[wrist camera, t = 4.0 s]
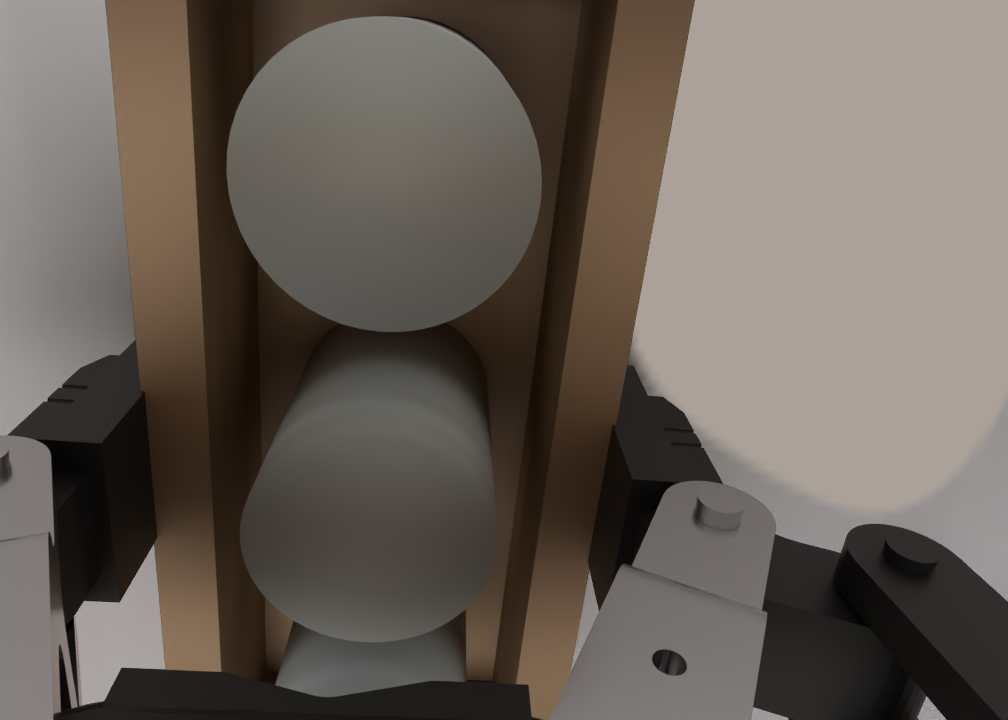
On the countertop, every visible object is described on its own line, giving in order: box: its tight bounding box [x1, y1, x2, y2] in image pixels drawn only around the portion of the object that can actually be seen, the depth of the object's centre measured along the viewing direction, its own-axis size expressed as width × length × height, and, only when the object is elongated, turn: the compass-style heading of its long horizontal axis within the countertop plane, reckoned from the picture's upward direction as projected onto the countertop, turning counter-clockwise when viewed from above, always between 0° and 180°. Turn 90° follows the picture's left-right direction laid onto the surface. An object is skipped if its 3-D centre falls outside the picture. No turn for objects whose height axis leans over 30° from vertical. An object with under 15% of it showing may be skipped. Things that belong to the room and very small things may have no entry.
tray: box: [105, 0, 695, 720], centre depth 11 cm, size 14×6×5 cm, turn 174°
